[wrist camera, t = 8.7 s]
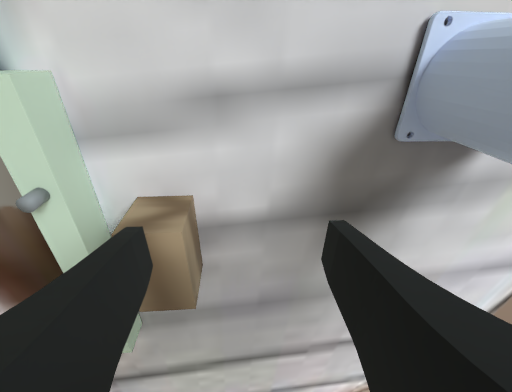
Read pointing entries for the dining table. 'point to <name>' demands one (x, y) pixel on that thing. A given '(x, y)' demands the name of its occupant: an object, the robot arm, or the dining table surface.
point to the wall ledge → (50, 170)
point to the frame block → (168, 250)
